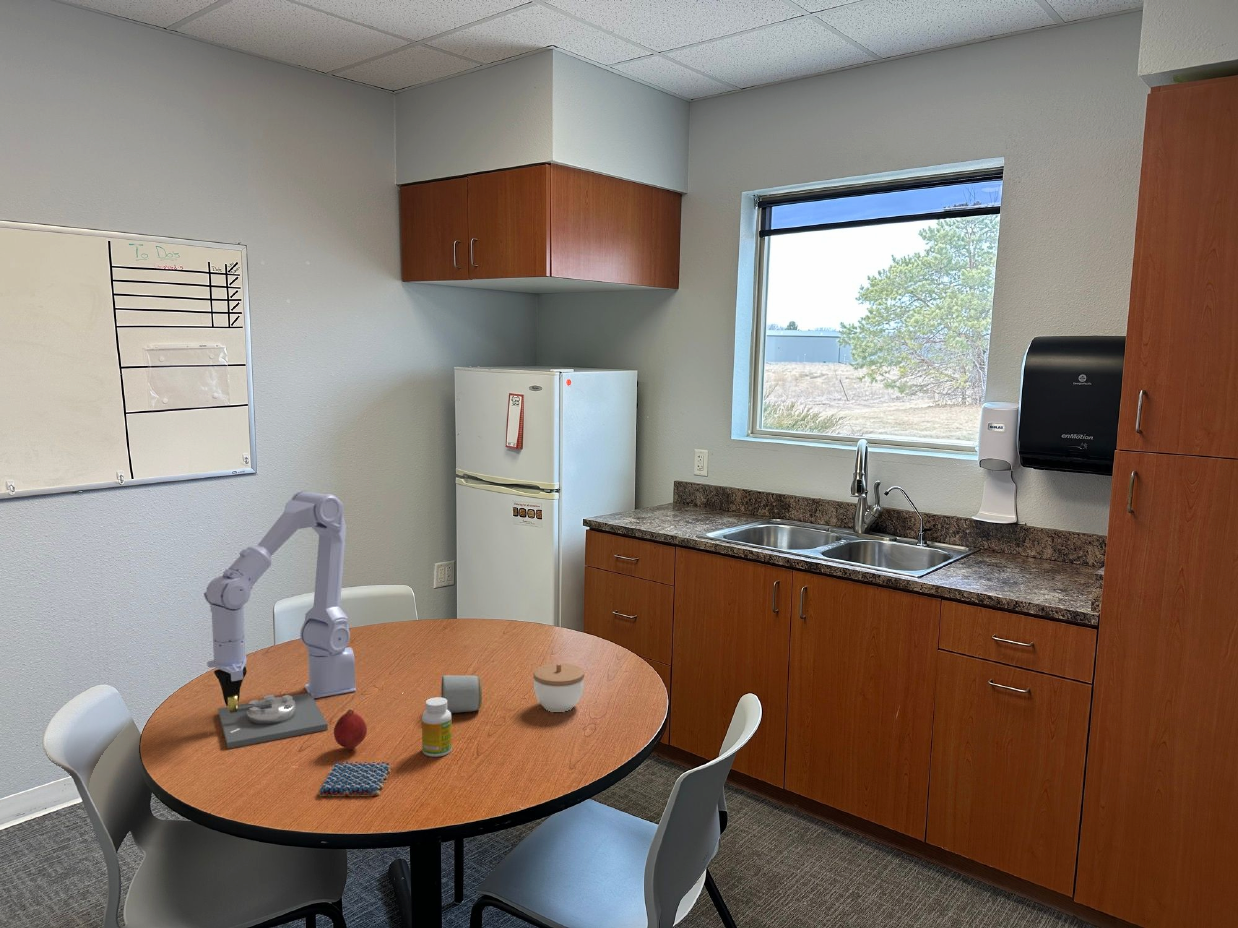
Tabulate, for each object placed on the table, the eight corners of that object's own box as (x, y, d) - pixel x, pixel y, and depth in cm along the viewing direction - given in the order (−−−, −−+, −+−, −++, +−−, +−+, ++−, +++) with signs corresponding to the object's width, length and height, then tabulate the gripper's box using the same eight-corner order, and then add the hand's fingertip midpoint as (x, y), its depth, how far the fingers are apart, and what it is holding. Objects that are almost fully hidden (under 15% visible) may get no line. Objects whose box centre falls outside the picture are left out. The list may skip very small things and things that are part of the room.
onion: (337, 759, 159) (336, 717, 158) (332, 746, 164) (330, 705, 163) (369, 752, 161) (369, 711, 160) (363, 740, 166) (362, 700, 165)
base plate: (310, 697, 187) (310, 692, 186) (327, 729, 171) (327, 723, 171) (218, 713, 178) (218, 707, 178) (227, 748, 162) (227, 742, 162)
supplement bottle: (444, 758, 159) (444, 708, 158) (417, 755, 160) (416, 705, 159) (456, 746, 165) (455, 696, 163) (429, 743, 166) (428, 694, 164)
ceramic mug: (483, 715, 179) (483, 679, 178) (442, 719, 177) (442, 682, 176) (477, 697, 189) (477, 662, 188) (439, 700, 187) (438, 665, 186)
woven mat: (393, 770, 156) (393, 759, 156) (379, 800, 145) (379, 788, 145) (334, 770, 155) (334, 759, 155) (316, 800, 145) (315, 789, 145)
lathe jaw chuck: (292, 703, 180) (291, 679, 180) (298, 719, 172) (297, 694, 172) (227, 713, 175) (226, 689, 174) (230, 731, 167) (229, 705, 166)
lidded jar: (594, 706, 184) (595, 664, 183) (557, 721, 176) (557, 677, 175) (559, 693, 191) (560, 652, 190) (522, 707, 183) (522, 664, 182)
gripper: (200, 630, 174) (203, 696, 175) (213, 651, 162) (216, 721, 164) (238, 625, 178) (241, 689, 179) (253, 645, 166) (256, 713, 167)
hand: (231, 704), depth 172 cm, fingers closed, pressing on lathe jaw chuck
